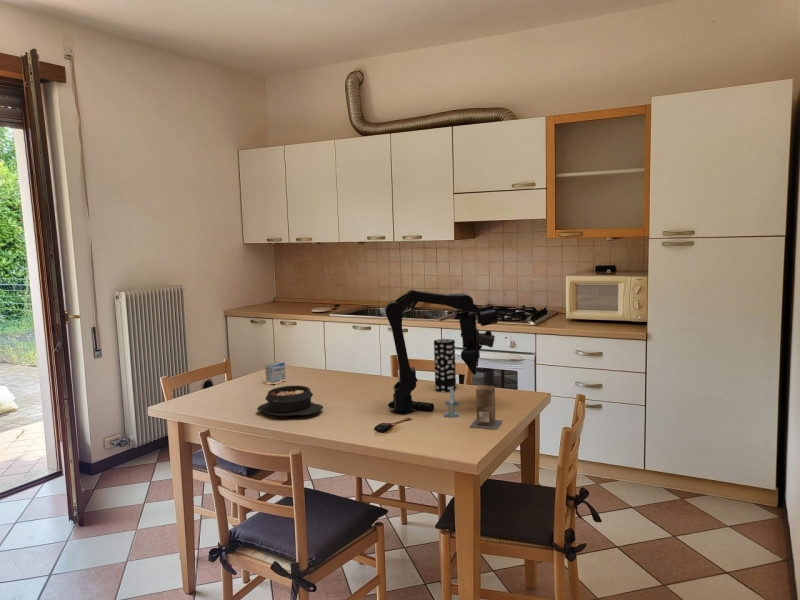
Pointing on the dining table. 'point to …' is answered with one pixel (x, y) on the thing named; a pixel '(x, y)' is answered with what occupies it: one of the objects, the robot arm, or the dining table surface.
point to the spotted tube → (444, 365)
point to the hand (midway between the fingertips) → (475, 370)
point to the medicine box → (275, 372)
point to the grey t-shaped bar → (451, 405)
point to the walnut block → (485, 405)
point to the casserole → (290, 402)
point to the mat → (495, 426)
